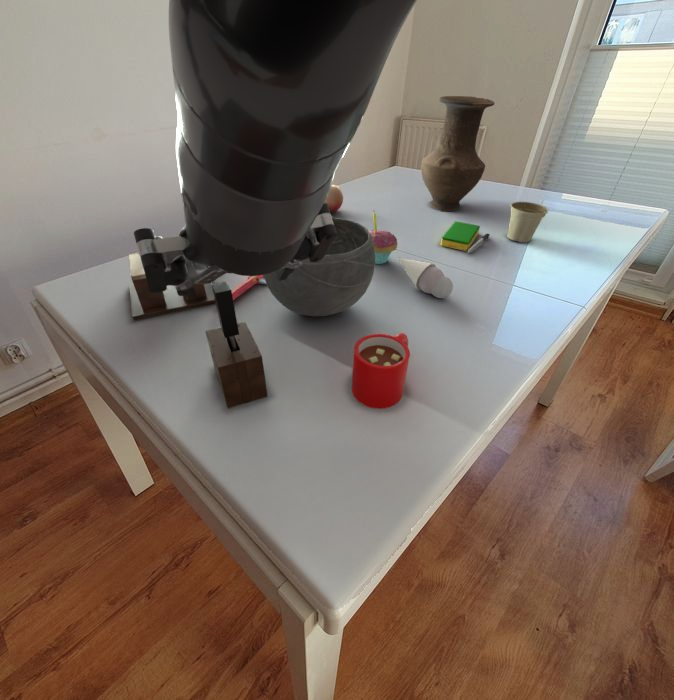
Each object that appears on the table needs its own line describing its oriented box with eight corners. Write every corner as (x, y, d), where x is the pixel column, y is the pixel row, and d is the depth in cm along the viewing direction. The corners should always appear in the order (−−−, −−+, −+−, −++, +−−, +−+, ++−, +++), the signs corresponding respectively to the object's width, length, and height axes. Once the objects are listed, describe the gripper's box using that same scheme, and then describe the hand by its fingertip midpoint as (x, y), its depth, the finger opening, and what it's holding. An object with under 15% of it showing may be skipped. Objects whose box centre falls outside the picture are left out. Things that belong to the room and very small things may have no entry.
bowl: (380, 288, 82) (387, 220, 73) (356, 345, 67) (361, 268, 57) (290, 274, 87) (286, 208, 77) (248, 324, 71) (236, 249, 62)
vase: (452, 220, 115) (477, 104, 96) (403, 204, 126) (417, 97, 107) (485, 207, 126) (514, 99, 107) (438, 193, 136) (456, 93, 118)
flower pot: (515, 229, 111) (525, 199, 105) (544, 240, 105) (556, 209, 99) (494, 236, 107) (503, 204, 101) (523, 248, 100) (534, 215, 95)
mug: (422, 370, 62) (430, 331, 57) (387, 416, 54) (394, 376, 49) (379, 353, 65) (384, 314, 60) (341, 394, 57) (343, 354, 52)
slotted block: (133, 321, 71) (118, 282, 66) (130, 289, 80) (117, 253, 75) (219, 303, 77) (211, 266, 71) (207, 275, 86) (199, 240, 80)
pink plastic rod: (291, 266, 91) (275, 257, 92) (293, 259, 90) (277, 250, 90) (230, 316, 74) (210, 304, 75) (231, 309, 73) (211, 296, 73)
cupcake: (357, 264, 91) (360, 215, 83) (364, 250, 97) (367, 203, 90) (393, 269, 89) (399, 219, 82) (397, 254, 96) (403, 206, 88)
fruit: (332, 205, 124) (333, 179, 119) (347, 212, 119) (348, 186, 114) (312, 209, 121) (311, 183, 116) (325, 217, 115) (326, 190, 110)
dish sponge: (478, 233, 108) (480, 225, 106) (466, 251, 98) (468, 242, 96) (453, 228, 110) (455, 220, 109) (439, 245, 101) (441, 237, 99)
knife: (467, 258, 95) (469, 250, 94) (464, 257, 95) (466, 249, 94) (488, 240, 104) (490, 233, 103) (485, 239, 105) (487, 232, 103)
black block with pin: (236, 391, 57) (215, 294, 47) (231, 379, 59) (211, 283, 49) (249, 387, 58) (231, 291, 47) (244, 375, 60) (226, 280, 49)
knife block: (227, 409, 55) (217, 367, 50) (215, 370, 61) (205, 330, 56) (267, 396, 57) (262, 355, 52) (251, 360, 63) (245, 321, 58)
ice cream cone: (393, 272, 88) (444, 308, 81) (383, 264, 83) (436, 301, 76) (409, 250, 86) (462, 284, 80) (400, 240, 81) (456, 276, 74)
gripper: (350, 114, 23) (294, 231, 38) (88, 127, 18) (143, 255, 33) (386, 229, 23) (316, 301, 38) (129, 274, 18) (166, 336, 33)
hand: (235, 279), depth 36 cm, fingers open, 8 cm apart
